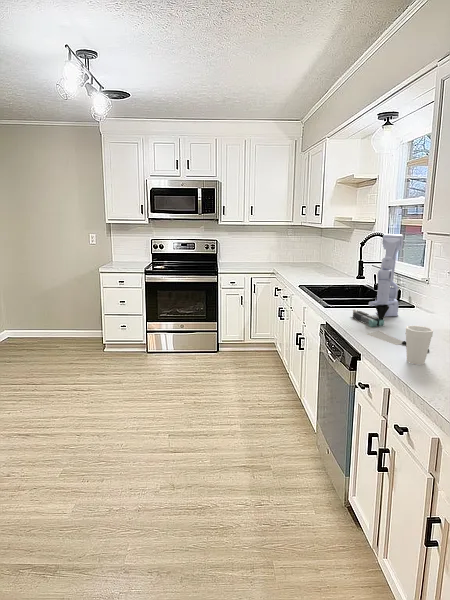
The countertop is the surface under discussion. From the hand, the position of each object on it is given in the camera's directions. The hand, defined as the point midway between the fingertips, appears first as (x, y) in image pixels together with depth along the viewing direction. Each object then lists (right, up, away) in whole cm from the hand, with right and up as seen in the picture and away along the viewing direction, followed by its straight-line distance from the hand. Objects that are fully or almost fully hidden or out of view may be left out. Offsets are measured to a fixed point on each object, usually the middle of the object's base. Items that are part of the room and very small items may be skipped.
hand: (380, 319), depth 236 cm
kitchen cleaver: (-6, -9, -35) cm, 37 cm away
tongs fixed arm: (-9, -1, -1) cm, 9 cm away
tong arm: (-6, -1, +2) cm, 7 cm away
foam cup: (-7, -14, -61) cm, 62 cm away
